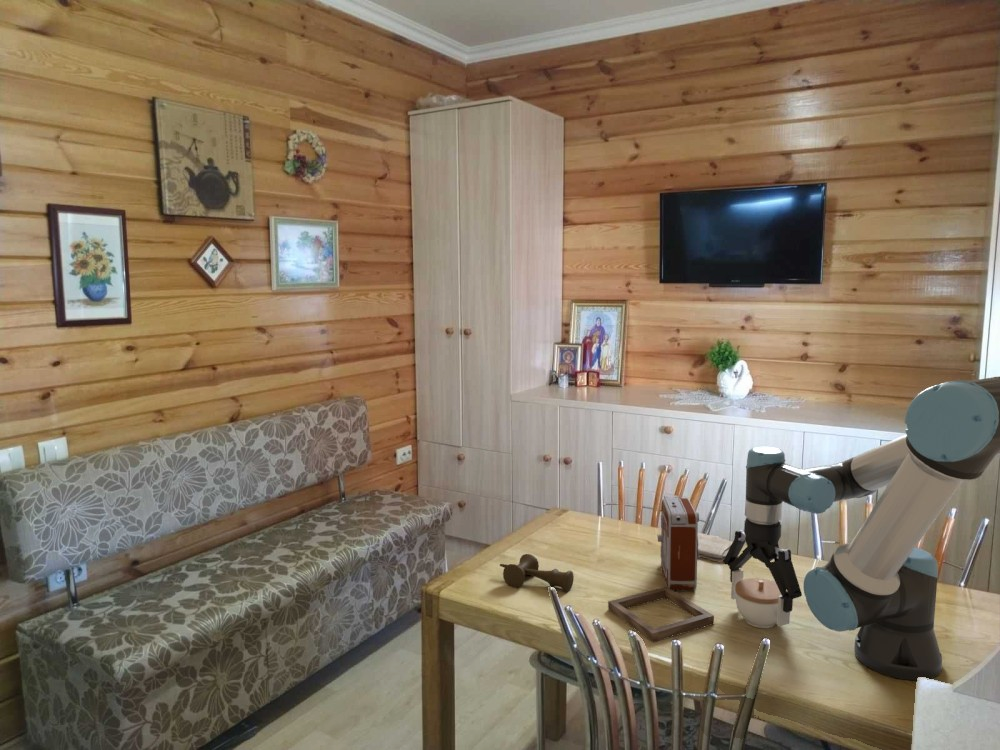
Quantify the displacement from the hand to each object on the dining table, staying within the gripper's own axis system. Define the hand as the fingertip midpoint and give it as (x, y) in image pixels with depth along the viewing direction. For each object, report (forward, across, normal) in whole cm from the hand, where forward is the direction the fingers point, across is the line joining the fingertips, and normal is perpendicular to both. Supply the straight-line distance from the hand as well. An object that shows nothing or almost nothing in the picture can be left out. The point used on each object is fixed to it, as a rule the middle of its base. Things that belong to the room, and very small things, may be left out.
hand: (759, 610), depth 159 cm
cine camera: (+3, +27, +1) cm, 27 cm away
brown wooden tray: (+2, +12, +18) cm, 22 cm away
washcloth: (+4, +38, -16) cm, 41 cm away
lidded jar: (+3, 0, 0) cm, 3 cm away
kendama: (+3, +41, +34) cm, 53 cm away
